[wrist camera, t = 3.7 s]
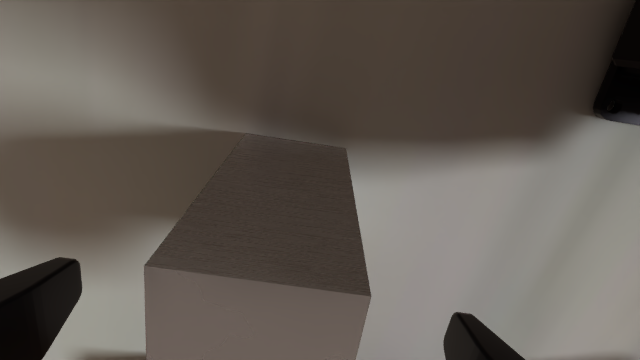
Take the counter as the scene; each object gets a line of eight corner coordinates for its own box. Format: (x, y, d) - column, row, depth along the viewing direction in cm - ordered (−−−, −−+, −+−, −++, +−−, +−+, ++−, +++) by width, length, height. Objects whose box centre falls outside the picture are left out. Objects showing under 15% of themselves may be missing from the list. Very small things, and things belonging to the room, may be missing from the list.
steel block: (346, 148, 15) (371, 296, 7) (329, 235, 17) (333, 445, 8) (246, 133, 15) (144, 266, 7) (238, 222, 16) (147, 423, 8)
